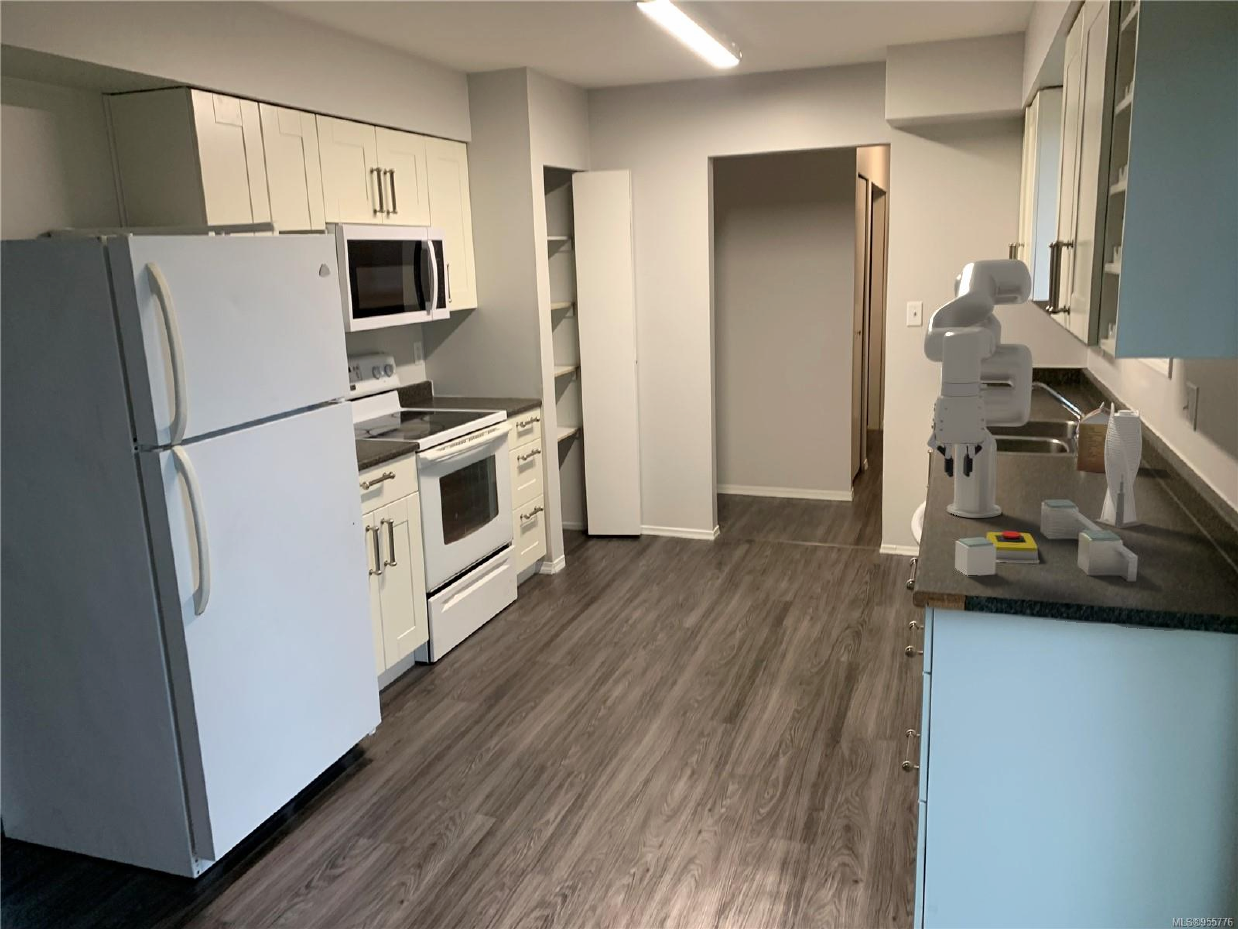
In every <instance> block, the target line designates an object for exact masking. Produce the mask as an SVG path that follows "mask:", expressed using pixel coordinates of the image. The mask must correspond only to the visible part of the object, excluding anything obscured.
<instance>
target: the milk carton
mask: <svg viewBox="0 0 1238 929" xmlns="http://www.w3.org/2000/svg"><path fill="white" fill-rule="evenodd" d="M1110 414H1111V408H1110V409H1109V408H1108V407H1105V402H1104V401H1103V402H1102V403H1101V405H1100V406H1099V408H1097V409H1095V410H1092V411H1090V412H1089V413H1087V414H1086V415H1084V416H1083V417H1082V418H1081V420H1080V422H1078V437H1077V438H1078V439H1077V458H1076V459H1077V460H1076V471H1079V472H1080V471H1081V472H1083V471H1084V472H1097V473H1106V471H1105V440H1106V434H1107V428H1108V423H1109V419H1110Z"/></svg>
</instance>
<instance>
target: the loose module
mask: <svg viewBox="0 0 1238 929" xmlns="http://www.w3.org/2000/svg"><path fill="white" fill-rule="evenodd" d="M954 551H955V553H954V554H955V555H954V559H955V560H954V569H955V568H956V569H957V570H956V569H955V570H956V571H958V570H959V571H960V572H959V571H958V572H959V573H961V572H962V573H963V574H962V573H961V574H962V575H964V574H965V575H967V576H966V577H969V576H968V575H978V576H987V575H988V576H989V575H995V574H996V563H997V562H996V545H994V544H993V542H991V541H989V540H987V539H986V538H985V537H983V536H980V537H966V538H958V540H955V550H954ZM965 575H964V576H965Z"/></svg>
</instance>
